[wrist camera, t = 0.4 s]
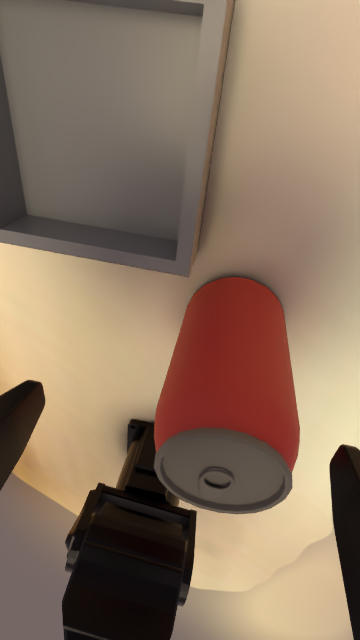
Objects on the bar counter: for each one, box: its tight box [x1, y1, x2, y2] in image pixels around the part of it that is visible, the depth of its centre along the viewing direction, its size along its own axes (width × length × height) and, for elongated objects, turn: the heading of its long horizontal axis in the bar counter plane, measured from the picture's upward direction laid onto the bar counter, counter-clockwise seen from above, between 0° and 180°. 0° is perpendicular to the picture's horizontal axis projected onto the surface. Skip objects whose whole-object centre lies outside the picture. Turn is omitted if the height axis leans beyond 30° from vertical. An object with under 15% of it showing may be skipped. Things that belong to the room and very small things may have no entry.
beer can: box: [154, 277, 300, 514], centre depth 18 cm, size 7×7×12 cm
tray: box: [0, 0, 235, 277], centre depth 16 cm, size 12×12×4 cm
